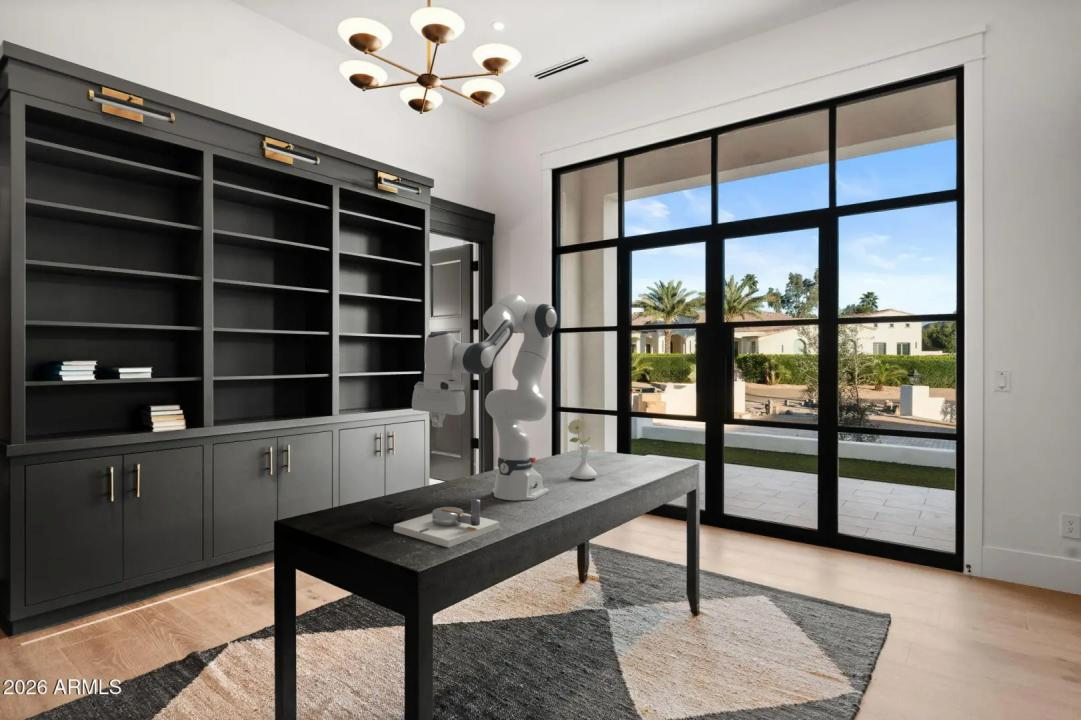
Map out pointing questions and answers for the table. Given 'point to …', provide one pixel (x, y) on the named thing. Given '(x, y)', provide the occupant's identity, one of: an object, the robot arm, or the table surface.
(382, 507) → the end cap
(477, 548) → the table surface
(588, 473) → the flower in vase
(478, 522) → the silver metal piece
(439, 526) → the panel
